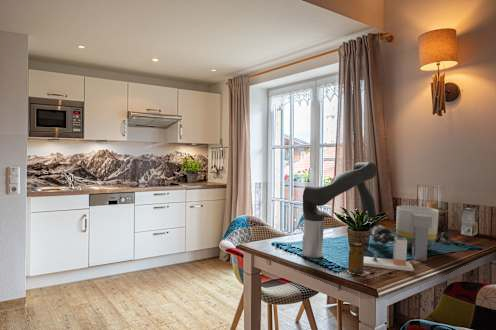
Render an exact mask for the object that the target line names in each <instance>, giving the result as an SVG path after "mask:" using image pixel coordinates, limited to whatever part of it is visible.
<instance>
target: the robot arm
mask: <svg viewBox="0 0 496 330" xmlns="http://www.w3.org/2000/svg"><path fill="white" fill-rule="evenodd" d="M377 173H378V166H377V164H375V163H374V162H372V161H371V162H370V161H364V162H363V161H361V162H359V161H358V162H356V163H355V164H354V166H353V169H352V170H346V171H343V172H340V173H339V174H337V175H335V176H333V177H332V178H331V181H330V183H329V184H327V185H314V184H313V185H312V184H309V185H306V186H305V188H304V189H303V194H302V213H303V235H302V246H301V248H302V250H301V251H302V252H301V256H302V257H303V256H304V257H308V258H312V259H313V258H314V259H315V258H316V259H318V258H319V259H320V258H322V257H323V251H324V250H323V248H324V227H325V226H324V222H325V214H324V213H323V212H321V211H320V210H319V208H318V207H323V206H325V205H326V204H328V203H330V202H331V201H332V200H334V199H335V198H337V197H338V196H340V195H342V194H343V193H346V192H348V191H349V190H351V189H353V188H355V187H357V189H358V190H357V191H358V193H359V198H360V202H361V211H362V212H364V211H368V212H369V217H368V218H374V217H375V216H377V217H378V215H377V210H376V203H375V198H374V197H373V195H372V194H371V192H370V191H369V189H368V187H367V185H366V181H369V180H372V179H374V178H375V177H376V175H377ZM369 236H371V240H372V241H373V242H374V243H380V244H382V245H384V246H386V244H388V243H393V244H394V237H398V238H404V237H403V236H401V235H398V236H397V234H396V235H394V234H393V233H392V232H391V230H390V229H388V228H387V227H385V226H383V225H382V224H381V222H380V221H379V222H378V223H377V224H376V225H375V226H374V227H373V228H371V230H370V235H369Z"/></svg>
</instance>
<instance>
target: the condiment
mask: <svg viewBox="0 0 496 330" xmlns="http://www.w3.org/2000/svg"><path fill="white" fill-rule="evenodd" d="M349 246H350V247H349V249H348V261H347V263H348V264H347V270H348V271H349V272H351V273H355V275H354V276H357V275H356V274H362V273H363V271H364V272H365V273H367V274H368V275H370V274H371V272H369V271H365V270H364V256H365V251H364V244H363V243H362V242H355V241H352V242H350V245H349ZM369 273H370V274H369ZM359 277H362V276H361V275H360V276H359Z"/></svg>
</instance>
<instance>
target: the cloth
mask: <svg viewBox="0 0 496 330" xmlns="http://www.w3.org/2000/svg"><path fill="white" fill-rule="evenodd" d="M434 243H435V244H437V245H440V246H442V245H444V246H449V247H454V246H455V248H456V247H457V246H462V245H463V242H461V241H459V240H454V239H451V237H450V236H449V235H448V234H447V232H444V231H443V232H441V233H440V234H439V235H438V236H436V240H435V242H434Z"/></svg>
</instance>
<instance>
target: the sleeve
mask: <svg viewBox="0 0 496 330" xmlns="http://www.w3.org/2000/svg"><path fill="white" fill-rule="evenodd" d="M407 252H408V248H407V240H406V239H405V238H398V237H394V243H393V247H392V260H393V263H394V264H395V265H403V266H406V261H407Z"/></svg>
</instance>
